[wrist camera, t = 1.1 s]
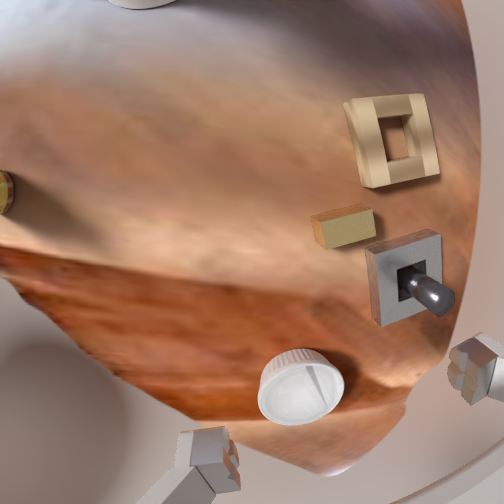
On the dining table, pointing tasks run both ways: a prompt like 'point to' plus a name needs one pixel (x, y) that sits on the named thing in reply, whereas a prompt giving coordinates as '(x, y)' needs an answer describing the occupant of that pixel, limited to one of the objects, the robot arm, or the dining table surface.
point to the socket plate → (385, 273)
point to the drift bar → (343, 226)
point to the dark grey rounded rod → (426, 290)
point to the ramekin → (299, 387)
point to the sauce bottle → (5, 191)
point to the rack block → (371, 145)
